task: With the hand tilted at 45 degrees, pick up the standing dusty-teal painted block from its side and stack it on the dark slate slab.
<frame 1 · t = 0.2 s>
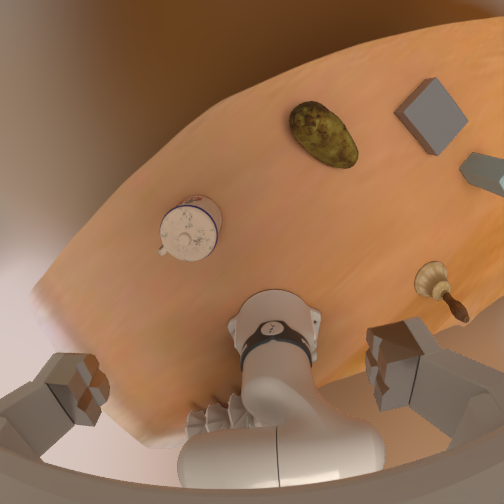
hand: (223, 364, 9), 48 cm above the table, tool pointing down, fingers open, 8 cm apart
slate slab: (427, 116, 48), on the table
potato: (319, 137, 51), on the table
teal block: (470, 167, 51), on the table
hand bell: (430, 278, 60), on the table
spiral staircase: (238, 403, 74), on the table
teacup with lid: (192, 223, 57), on the table
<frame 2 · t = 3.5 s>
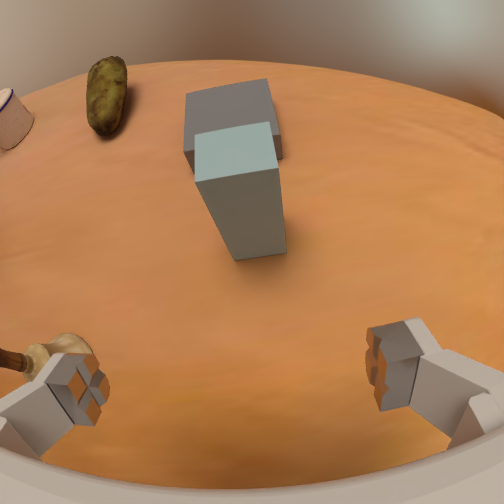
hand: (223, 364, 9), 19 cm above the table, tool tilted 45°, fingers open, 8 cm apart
slate slab: (234, 134, 37), on the table
potato: (115, 112, 43), on the table
teal block: (258, 237, 31), on the table
hand bell: (69, 371, 28), on the table
teacup with lid: (15, 134, 47), on the table
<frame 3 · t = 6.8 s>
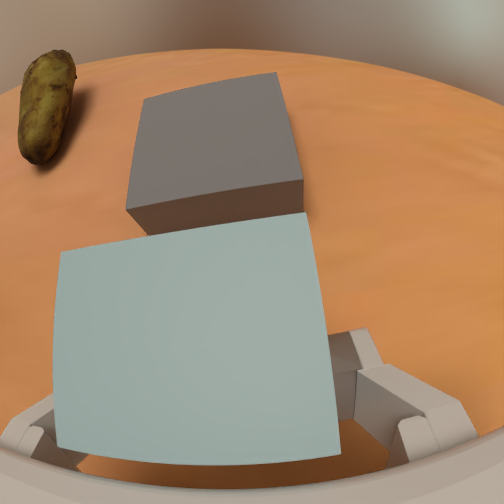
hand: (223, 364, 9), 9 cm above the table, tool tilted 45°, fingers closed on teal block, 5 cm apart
slate slab: (221, 166, 23), on the table
potato: (61, 127, 29), on the table
teal block: (258, 372, 17), on the table, touching gripper
when the fingers open (14 cm above the table, at t = 11.2 s): teal block stays where it is, resting on slate slab.
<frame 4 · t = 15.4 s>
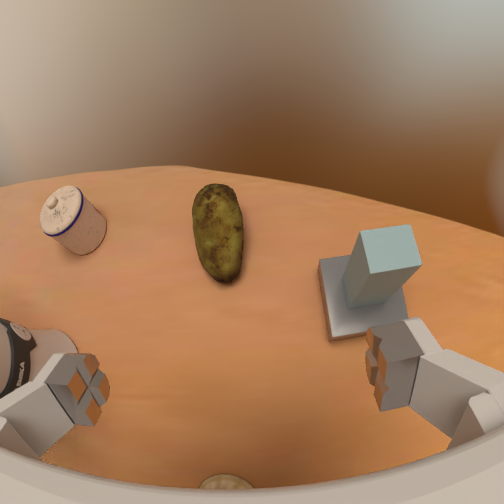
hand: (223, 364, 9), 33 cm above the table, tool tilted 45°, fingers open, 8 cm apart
slate slab: (359, 299, 42), on the table
potato: (223, 243, 48), on the table
teal block: (364, 290, 38), point 4 cm above the table, touching slate slab
hand bell: (227, 499, 33), on the table
teacup with lid: (82, 233, 53), on the table
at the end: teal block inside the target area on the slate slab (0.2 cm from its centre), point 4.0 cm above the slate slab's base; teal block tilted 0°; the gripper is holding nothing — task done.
